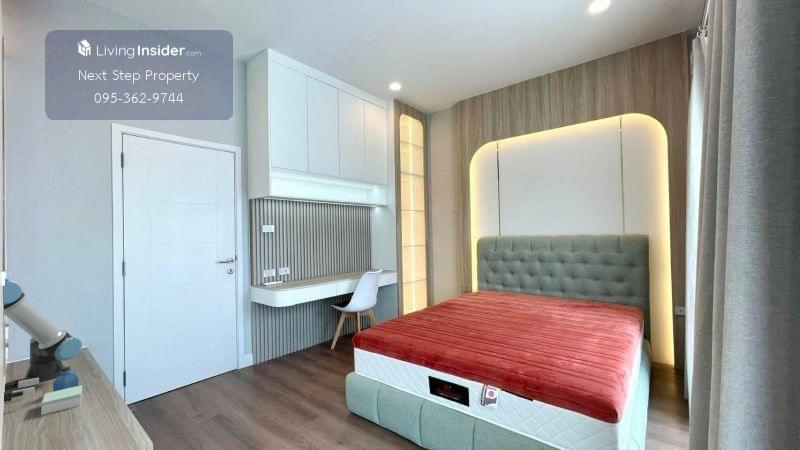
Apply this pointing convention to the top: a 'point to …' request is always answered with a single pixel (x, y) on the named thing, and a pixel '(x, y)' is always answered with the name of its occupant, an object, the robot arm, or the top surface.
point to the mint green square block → (61, 400)
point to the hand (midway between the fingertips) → (36, 385)
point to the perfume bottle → (65, 380)
